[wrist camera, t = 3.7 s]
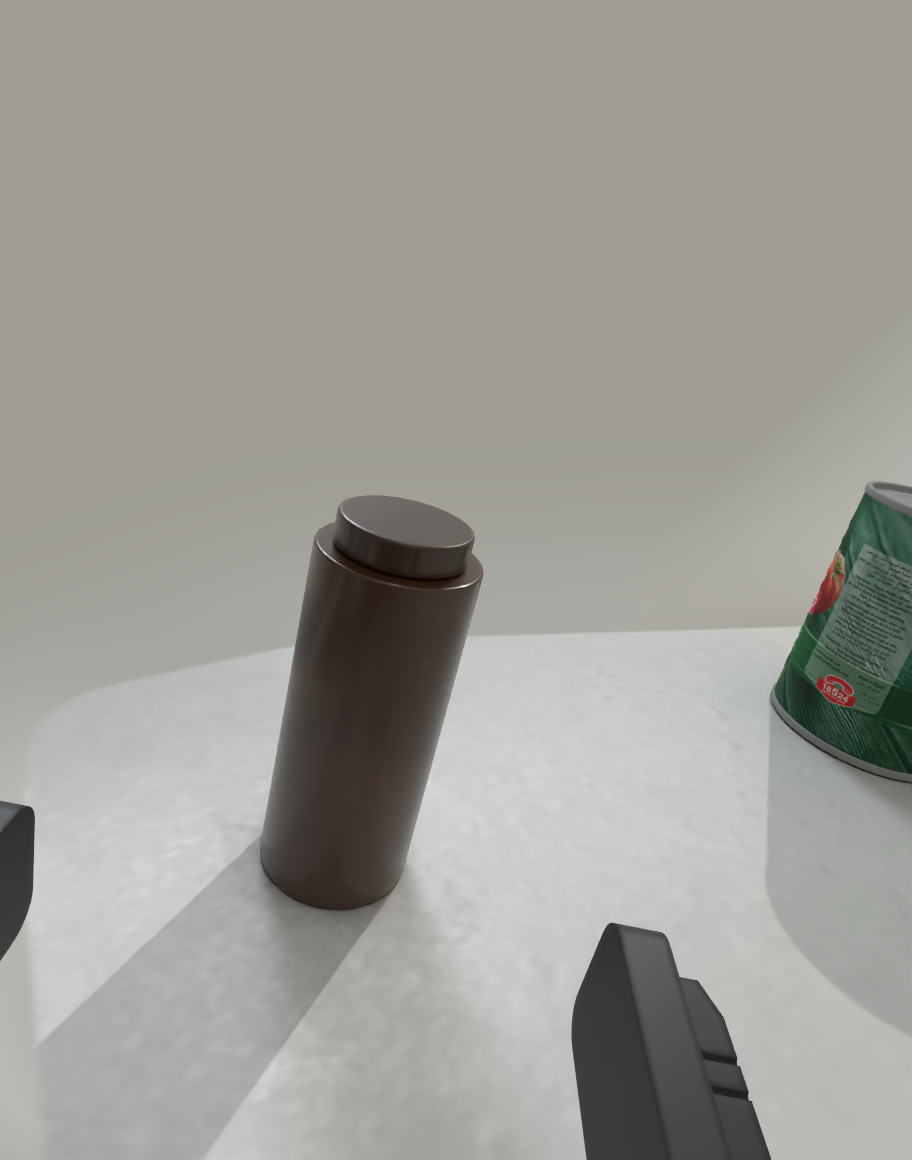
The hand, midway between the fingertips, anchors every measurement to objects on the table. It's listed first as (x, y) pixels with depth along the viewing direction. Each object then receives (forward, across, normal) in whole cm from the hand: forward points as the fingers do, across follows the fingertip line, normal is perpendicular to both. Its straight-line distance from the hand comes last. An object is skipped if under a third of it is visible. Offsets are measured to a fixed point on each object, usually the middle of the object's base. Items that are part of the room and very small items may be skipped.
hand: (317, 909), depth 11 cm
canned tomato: (+23, -23, +7) cm, 33 cm away
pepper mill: (+9, 0, +7) cm, 11 cm away
